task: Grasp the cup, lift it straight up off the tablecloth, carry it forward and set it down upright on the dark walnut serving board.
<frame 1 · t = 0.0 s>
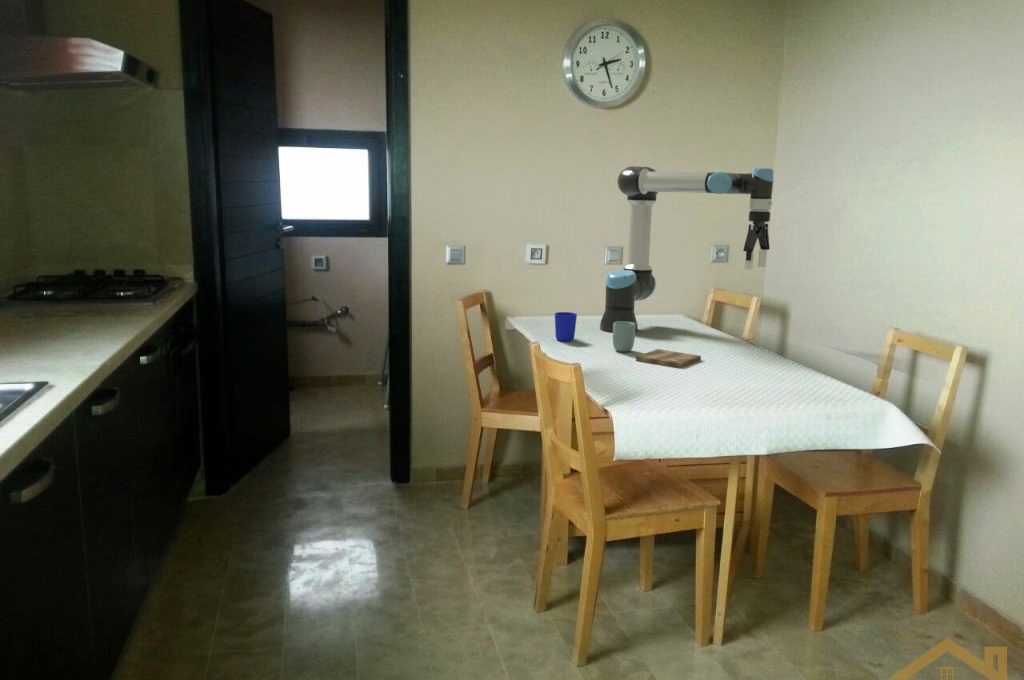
hand: (755, 268, 300), 28 cm above the table, fingers open, 13 cm apart
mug: (564, 339, 301), on the table
board: (668, 360, 269), on the table
cup: (622, 351, 282), on the table
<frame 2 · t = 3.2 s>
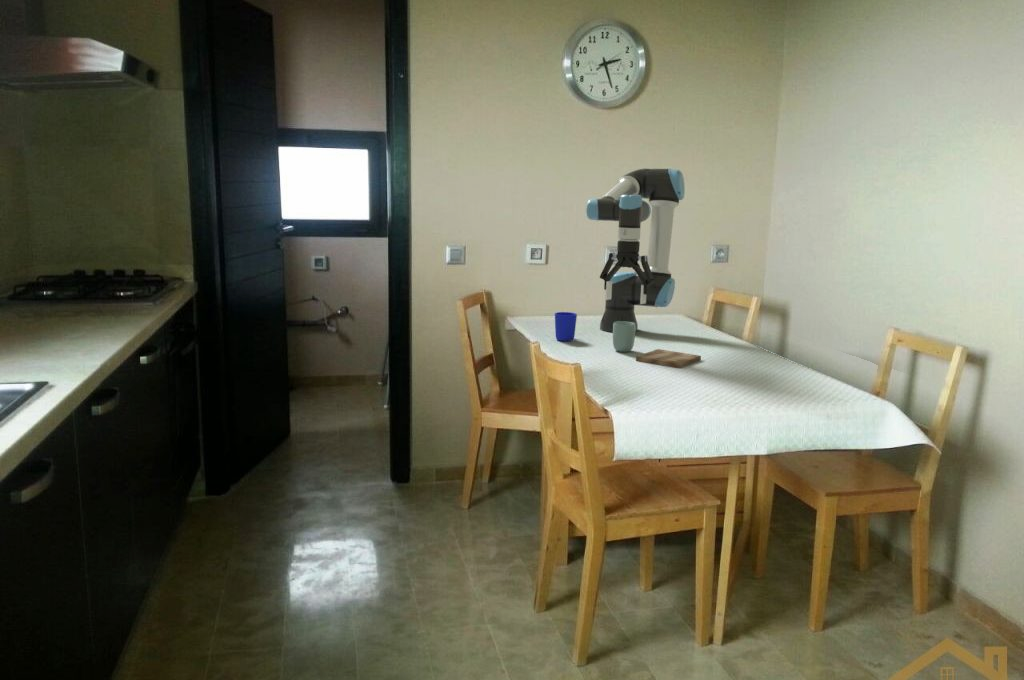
hand: (625, 301, 278), 18 cm above the table, fingers open, 13 cm apart
nothing on the table moved.
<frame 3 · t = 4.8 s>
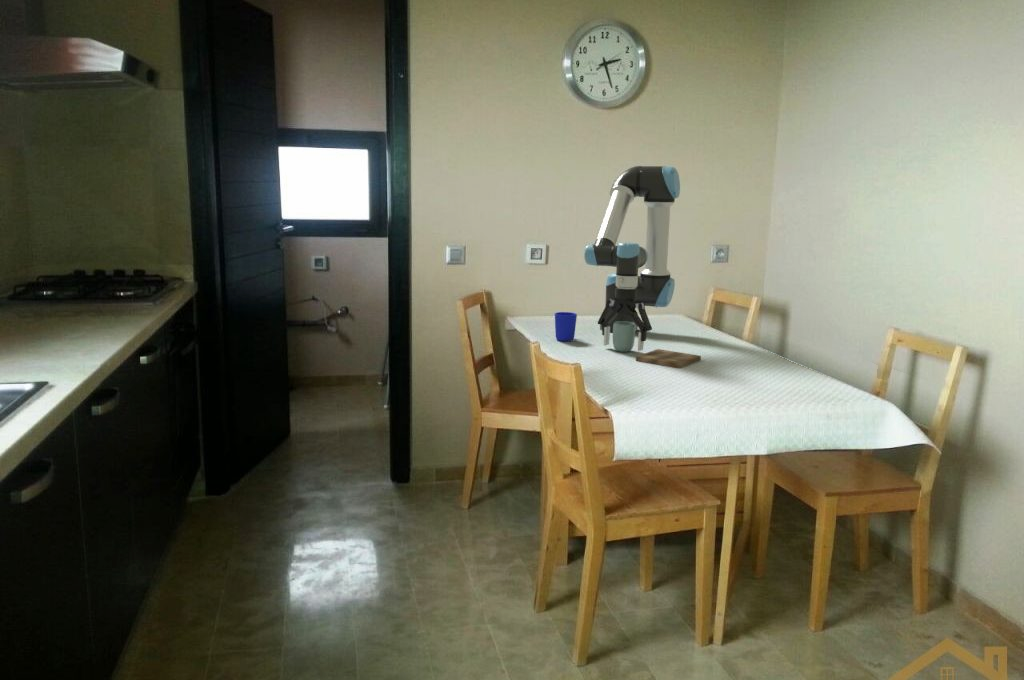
hand: (623, 347, 282), 1 cm above the table, fingers open, 13 cm apart
nothing on the table moved.
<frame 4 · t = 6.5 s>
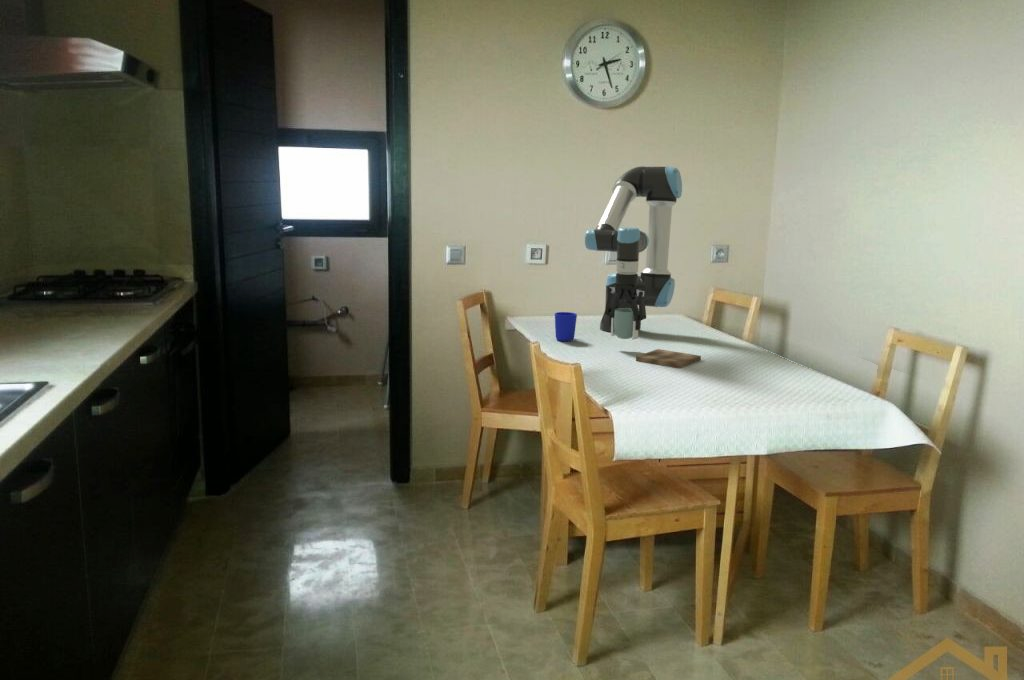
hand: (624, 336, 282), 5 cm above the table, fingers closed on cup, 8 cm apart
cup: (624, 338, 282), point 4 cm above the table, touching gripper
everything else where it was.
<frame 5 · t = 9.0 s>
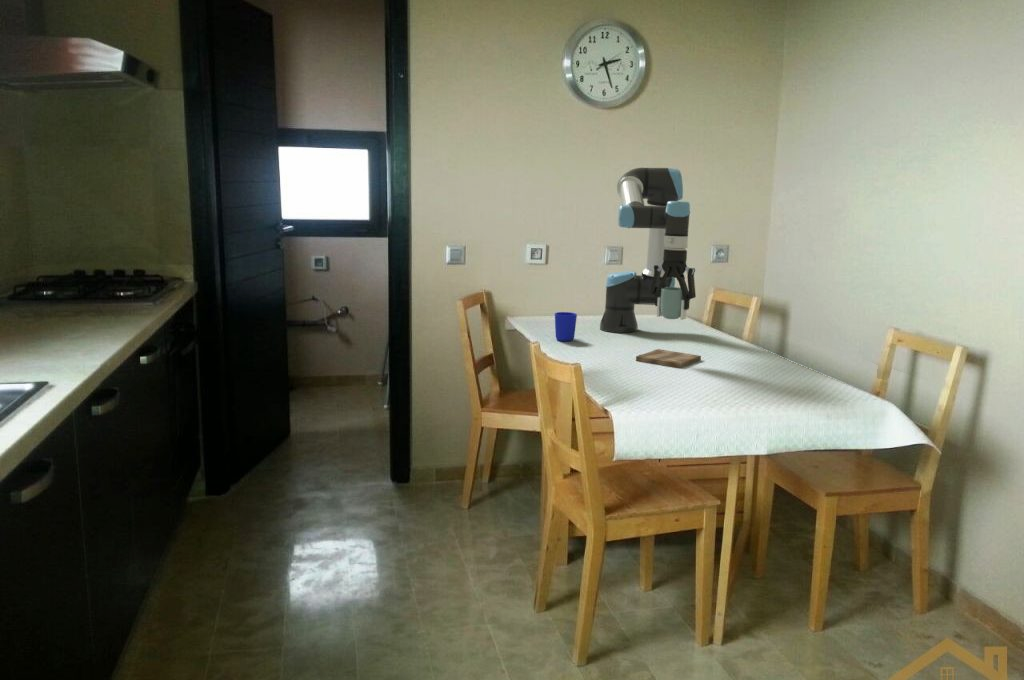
hand: (671, 317, 266), 15 cm above the table, fingers closed on cup, 8 cm apart
cup: (671, 319, 266), point 14 cm above the table, touching gripper
everything else where it was.
when the fingers open (3 cm above the table, at t = 11.9 s): cup stays where it is, resting on board.
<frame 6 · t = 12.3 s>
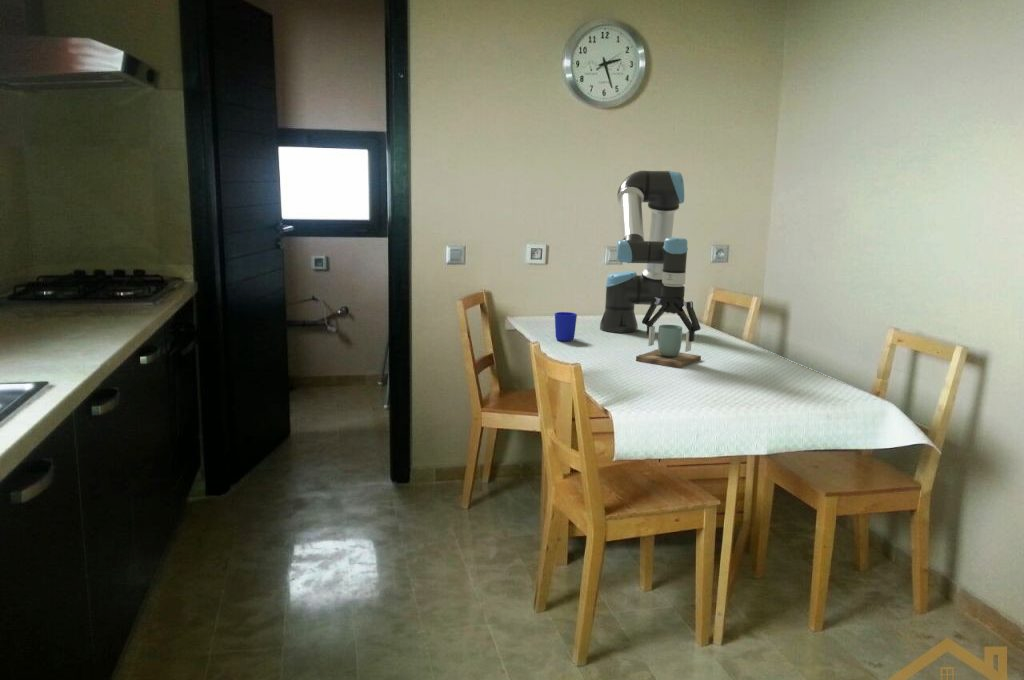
hand: (669, 348, 268), 4 cm above the table, fingers open, 13 cm apart
cup: (668, 356, 268), point 1 cm above the table, touching board
everything else where it was.
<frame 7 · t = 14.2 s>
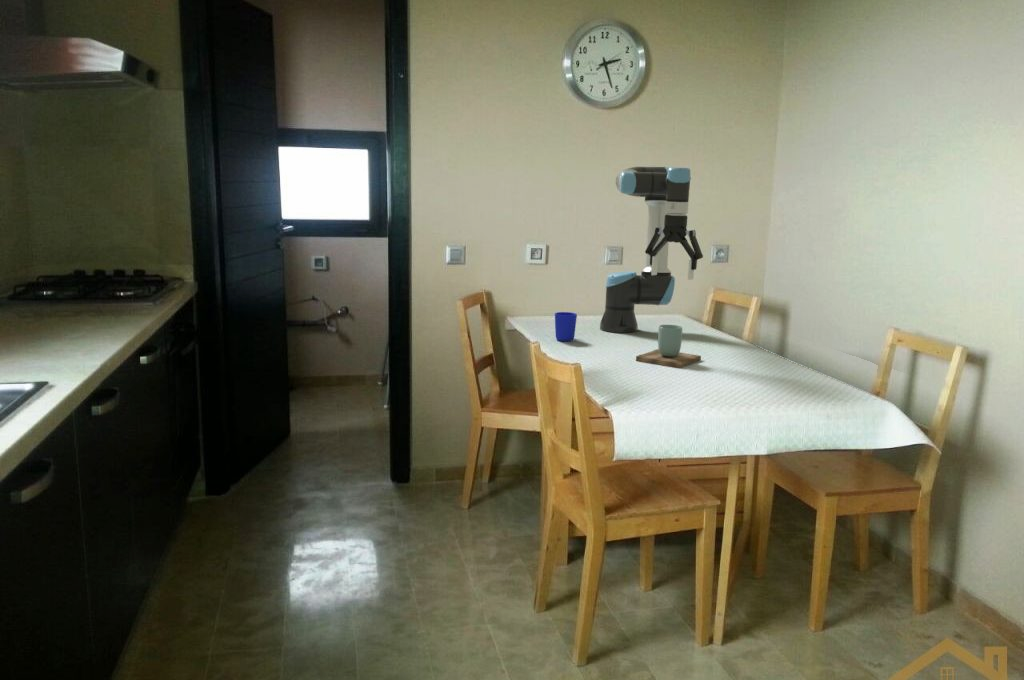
hand: (671, 277, 273), 27 cm above the table, fingers open, 13 cm apart
nothing on the table moved.
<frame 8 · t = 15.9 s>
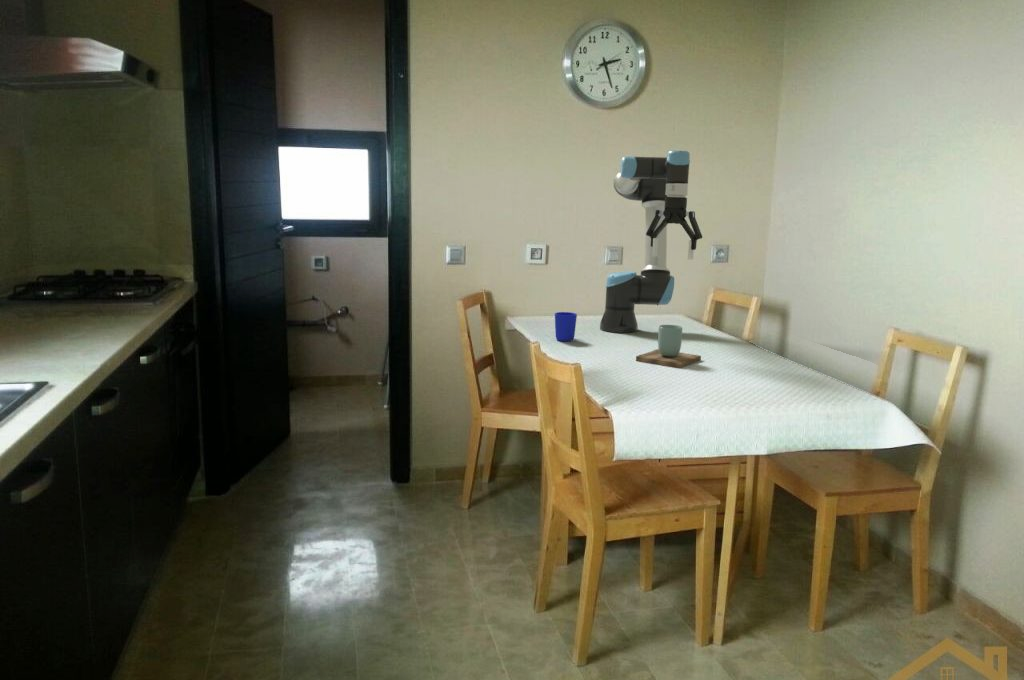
hand: (672, 257, 281), 33 cm above the table, fingers open, 13 cm apart
nothing on the table moved.
at the end: cup inside the target area on the board (0.1 cm from its centre), point 1.3 cm above the board's base; cup tilted 0°; the gripper is holding nothing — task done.
